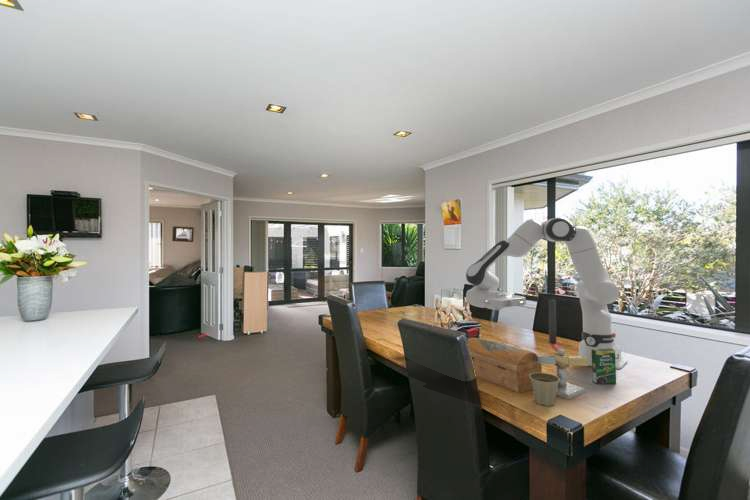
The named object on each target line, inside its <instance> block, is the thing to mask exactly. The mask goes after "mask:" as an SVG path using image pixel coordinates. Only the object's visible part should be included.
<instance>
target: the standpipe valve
mask: <svg viewBox="0 0 750 500" xmlns="http://www.w3.org/2000/svg"><path fill="white" fill-rule="evenodd" d="M535 354H536V362H537V363H539V364H542V365H543V364H544V365H554V366H555V367H556V376H557V377H558V378H559V379H560V381H559V382H558V385H557V390H556V396H558V397H561V398H564V399H567V400H570V399H573V398H575V397H577V396H580V395H581V394H584V393H586V387H583V386H579V385H576V384H572V383H570V382H568V381H567V368H569V367H570V366H581V367H582V366H583V367H589V365H588V358H586V357H580V356H579V355H569V354H566V353H565V355H558V352H555V353H553V354H552V355H551V354H537V353H535Z"/></svg>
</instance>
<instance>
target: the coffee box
mask: <svg viewBox="0 0 750 500" xmlns="http://www.w3.org/2000/svg"><path fill="white" fill-rule="evenodd" d="M591 369H592V372H591V373H592V382H593V383H595V384H596V385H605V384H606V385H607V384H608V385H609V384H610V385H613V384H617V369H616V362H615V350H613V349H611V348H610V349H592V366H591Z"/></svg>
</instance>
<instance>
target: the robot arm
mask: <svg viewBox="0 0 750 500" xmlns="http://www.w3.org/2000/svg"><path fill="white" fill-rule="evenodd" d="M540 240H544V241H546V242H552V243H557V242H563V243H564V244H565V245H566V247H567V249H568V252H569V256H570V259H571V261H572V264H573V267H574V269H575V271H576V272H577V274H578V276H579V277H580V278H581V279H580V280H579V281H578V282H577V284H576V291H577V292H576V293H578V298H579V304H580V307H581V312H582V313H581V315H582V331H581V339H582V340H581V341H579V344H578V345H579V346H578V356H580V357H586V358H588V367H592V349H610V348H611V349H613V350H615V362H616V370H617V369H618V370H621V369H623V367H624V366H625V365H626V364H627V363H628V359H626V358H623V357H622V349H621V347H619V346H618V345H617V344H616V343H615V342H614V341H615V338H616V333H615V332H612V316H611V313H610V310H609V308H608V305H607V304H609V305H610V304H613V303H614V302H616V301H617V300H618V299H619V296H620V290H619V287H618V286H617V285H616V284H615V282H614V281H613V280H612V278H611V276H610V275H609V272H608V271H607V269H606V268H605V266H604V264H603V262H602V260H601V257H600V253H599V251H598V248H597V245H596V243H595V240H594V238H593V236H592V234H591V232H590V231H589V229H588V228H587V227H586V226H580V225H578V226H575V224H572V223H571V221H569V220H568V219H566V218H564V217H555V218H549V219H547V220H545V221H543V222H540V221H538V220H537V219H533V218H532V219H531V218H530V219H527V220H525V221H524V222H523V223H522V224H521V225H520V226H518V228H517V229H515V231H514V232H513V233H512V234H511V235H510V236H509V237H508V238H506V239H504V240H501V241H499V242H497V243H496V244H495V245H494V246H492V248H490V249H489V250H488V251H487V252H486V253H485V254H484V255H482V257H480V258H479V259H478V260H477V261H476V262H474V263H473V264H471V265H470V266H468V268H467V270H466V273H465V277H466V281H467V282H468V283H469V284H470V285H473V286H472V288H470V289H468V290H466V293H465V298H466V301H467V303H468V304H469V305H471V306H474V307H477V308H481V309H482V308H483V309H485V308H486V309H488V310H493V311H500V310H502V309H505V308H513V307H523V306H525V305H526V304H527V298H526V297H525V296H522V295H517V294H513V293H512V294H511V293H510V292H507V291H505V292H504V291H501V290H500V291H499V288H500V285H501V284H500V278H499V277H498V276H496V275H495V274H494V273H493V272H491V271H489V270H488V269H489V268H490V267H492V266H493V264H494V263H496V262H497V261H498V260H499V259H500V258H502V257H513V258H522V257H524V256H526V255H527V254H529V252H531V250H532V249H533V248H534V246H535V245H536V244H538V242H539V241H540Z"/></svg>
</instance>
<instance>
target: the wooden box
mask: <svg viewBox="0 0 750 500" xmlns="http://www.w3.org/2000/svg"><path fill="white" fill-rule="evenodd" d="M467 339H468V344H469V349H470V352H471V357H472V361H473V366H474V370H475V375H476V377H475V378H476V379H479V380H481V381H484V382H486V383H490V384H493V385H495V386H497V387H500V388H502V389H506V390H508V391H511V392H513V393H516V394H521V393H523V392H527V391H529V390H531V389H532V390H533V387H532V382H531V379H530V377H529V375H530V374H532V373H543V371H542V369H543V368H542V365H543V364H539V363H537V362H536V354H537V353H535V352H532V351H530V350H527V349H522V348H519V347H515V346H512V345H509V344H505V343H504V344H503V343H500V342H495V341H491V340H487V339H482V338H479V337H469V338H467Z"/></svg>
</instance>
